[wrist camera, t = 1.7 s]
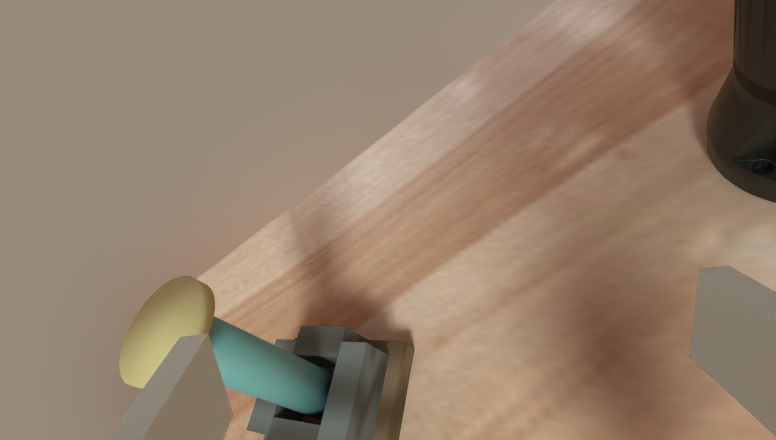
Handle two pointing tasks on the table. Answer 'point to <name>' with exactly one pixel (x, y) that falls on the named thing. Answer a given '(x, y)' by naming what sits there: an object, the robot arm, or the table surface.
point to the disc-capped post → (220, 350)
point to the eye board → (344, 388)
